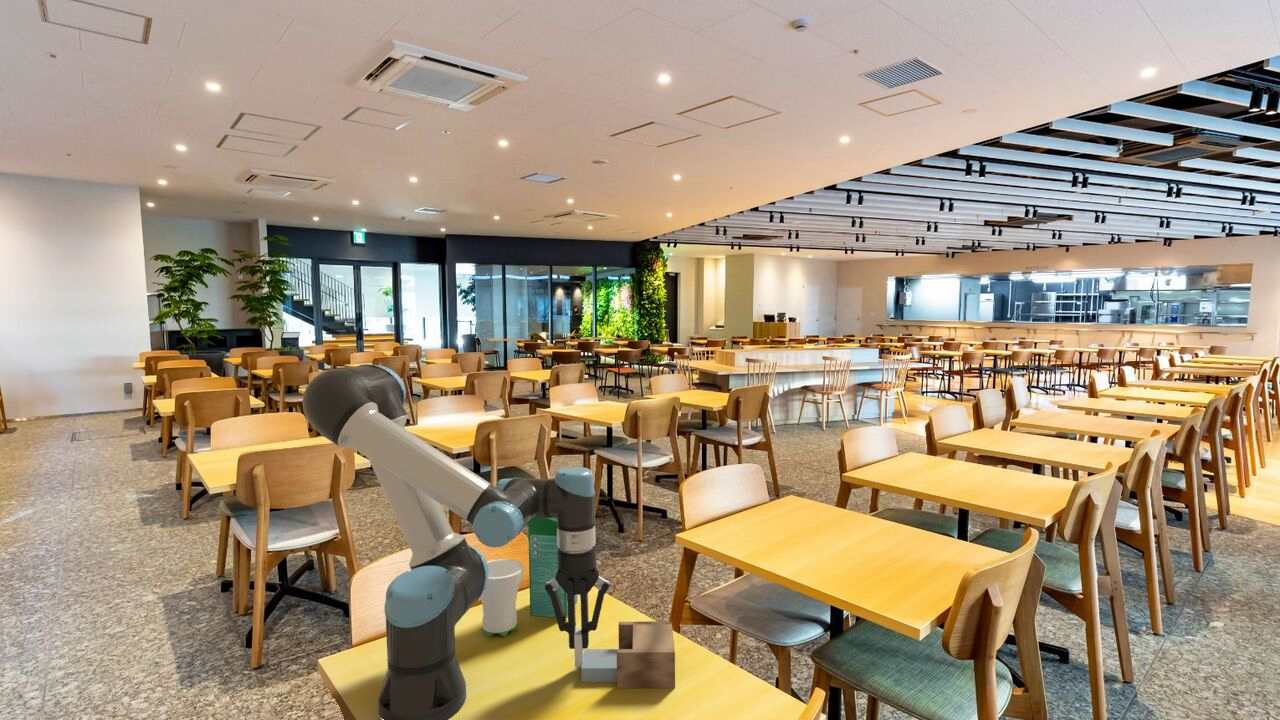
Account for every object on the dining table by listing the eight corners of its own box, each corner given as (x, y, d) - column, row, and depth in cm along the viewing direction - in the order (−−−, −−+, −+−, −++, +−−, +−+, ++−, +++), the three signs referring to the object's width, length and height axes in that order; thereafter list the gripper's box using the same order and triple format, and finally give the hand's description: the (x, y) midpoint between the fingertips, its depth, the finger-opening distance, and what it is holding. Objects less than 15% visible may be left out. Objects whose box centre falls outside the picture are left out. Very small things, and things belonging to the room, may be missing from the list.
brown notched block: (617, 688, 118) (616, 652, 117) (619, 654, 130) (618, 621, 129) (675, 687, 118) (674, 652, 118) (671, 653, 130) (671, 621, 130)
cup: (535, 625, 143) (534, 564, 142) (501, 647, 133) (499, 582, 132) (498, 613, 148) (497, 555, 148) (463, 633, 139) (461, 571, 138)
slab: (581, 683, 120) (581, 668, 120) (584, 663, 127) (584, 649, 127) (638, 683, 120) (638, 668, 120) (638, 663, 127) (638, 649, 127)
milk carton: (566, 618, 146) (564, 514, 144) (529, 615, 147) (527, 511, 146) (577, 601, 154) (576, 502, 153) (543, 598, 156) (541, 500, 155)
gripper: (540, 554, 118) (543, 674, 120) (608, 553, 118) (611, 673, 120) (546, 541, 126) (549, 653, 127) (610, 539, 126) (612, 652, 127)
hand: (579, 663), depth 124 cm, fingers closed
